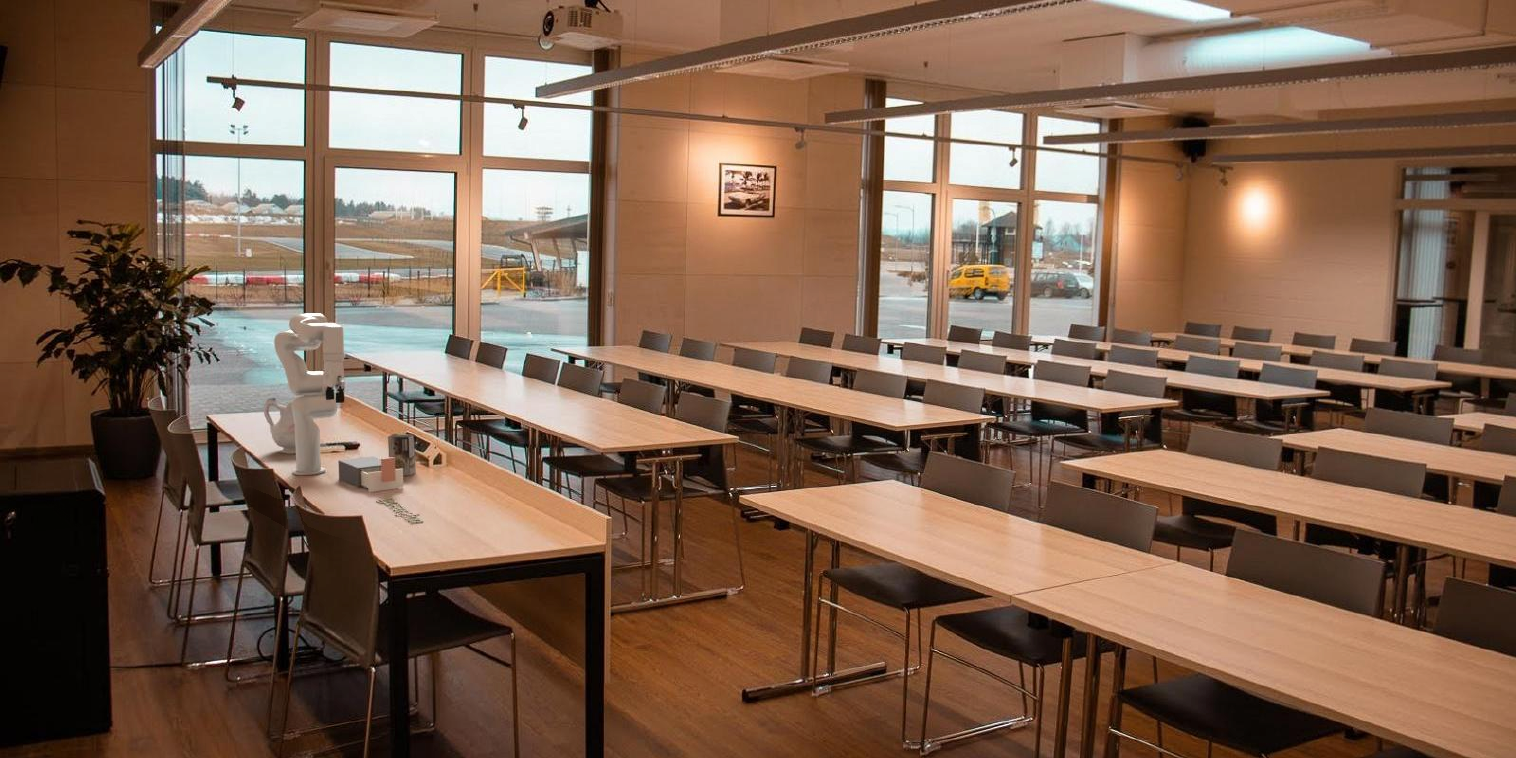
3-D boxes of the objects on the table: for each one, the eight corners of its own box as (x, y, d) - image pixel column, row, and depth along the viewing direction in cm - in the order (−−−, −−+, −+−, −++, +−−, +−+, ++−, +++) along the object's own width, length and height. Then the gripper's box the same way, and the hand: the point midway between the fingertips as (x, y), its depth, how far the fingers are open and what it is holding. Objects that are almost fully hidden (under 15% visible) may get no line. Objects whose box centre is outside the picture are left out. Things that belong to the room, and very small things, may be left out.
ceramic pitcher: (273, 459, 522) (273, 404, 517) (259, 449, 536) (259, 395, 532) (323, 454, 535) (323, 400, 531) (308, 444, 550) (308, 391, 545)
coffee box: (416, 472, 494) (415, 433, 492) (410, 475, 488) (409, 436, 486) (394, 471, 495) (393, 433, 493) (388, 475, 489) (387, 436, 487)
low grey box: (339, 480, 478) (338, 460, 477) (373, 475, 487) (372, 456, 486) (358, 488, 464) (357, 468, 463) (392, 483, 473) (392, 463, 472)
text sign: (396, 499, 447) (374, 502, 443) (396, 497, 447) (374, 499, 443) (428, 522, 414) (405, 525, 410) (428, 520, 414) (405, 523, 409)
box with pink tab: (350, 483, 470) (349, 451, 468) (383, 479, 479) (382, 448, 477) (372, 493, 454) (371, 460, 453) (406, 488, 463) (405, 456, 461)
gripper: (315, 355, 466) (316, 399, 469) (332, 360, 453) (334, 404, 456) (334, 354, 471) (335, 397, 474) (352, 358, 458) (353, 403, 461)
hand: (335, 401), depth 465 cm, fingers open, 9 cm apart
